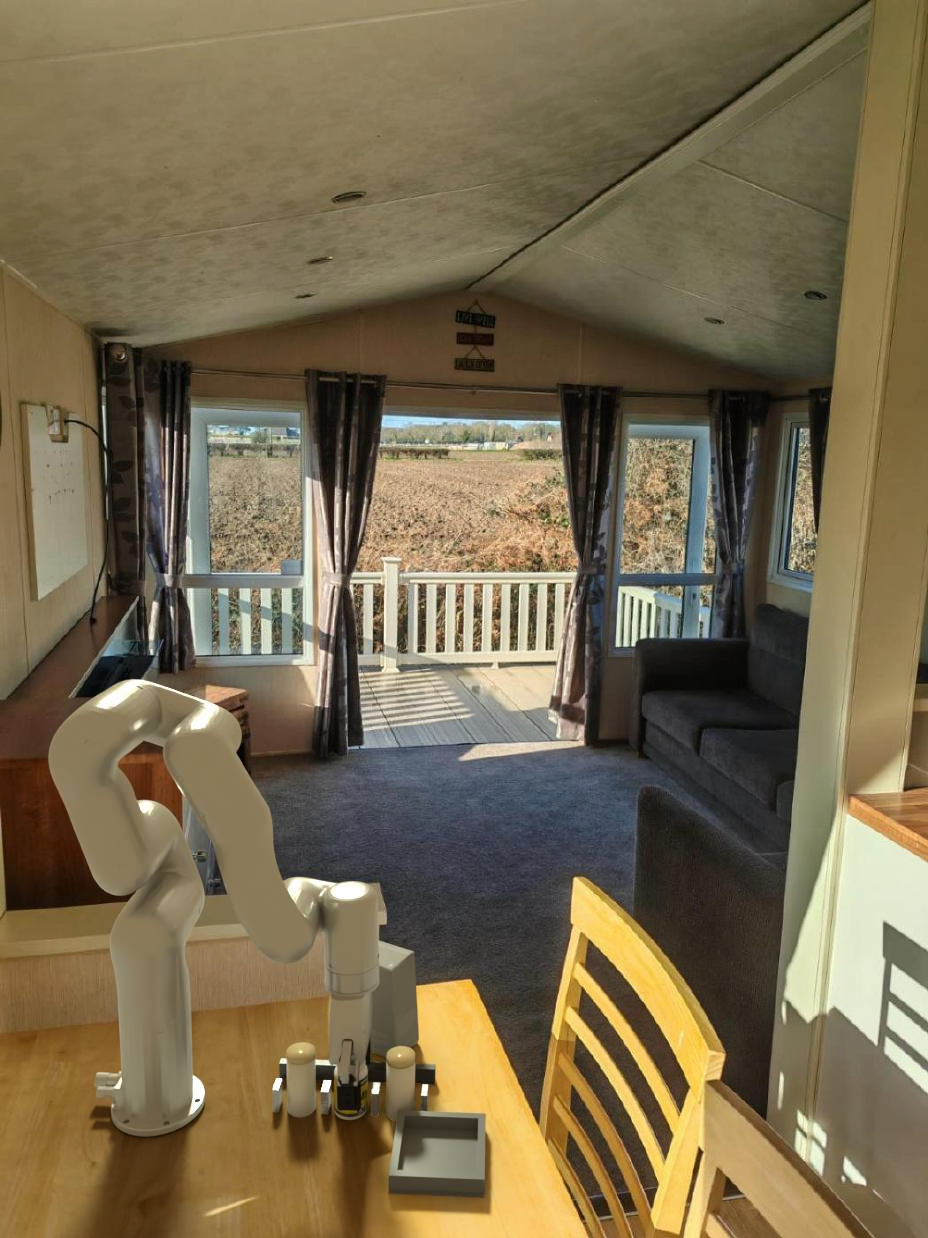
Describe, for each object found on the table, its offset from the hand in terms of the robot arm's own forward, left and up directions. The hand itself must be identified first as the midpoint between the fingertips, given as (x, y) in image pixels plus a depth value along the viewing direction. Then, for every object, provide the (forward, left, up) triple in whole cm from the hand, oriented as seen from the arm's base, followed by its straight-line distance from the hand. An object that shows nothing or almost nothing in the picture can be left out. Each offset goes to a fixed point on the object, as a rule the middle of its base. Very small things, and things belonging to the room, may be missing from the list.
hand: (354, 1085), depth 132 cm
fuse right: (+6, 0, -4) cm, 7 cm away
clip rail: (-1, +3, -4) cm, 5 cm away
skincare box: (+2, +15, -4) cm, 16 cm away
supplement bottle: (-1, 0, -4) cm, 4 cm away
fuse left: (-8, 0, -4) cm, 8 cm away
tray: (+12, -9, -4) cm, 16 cm away
